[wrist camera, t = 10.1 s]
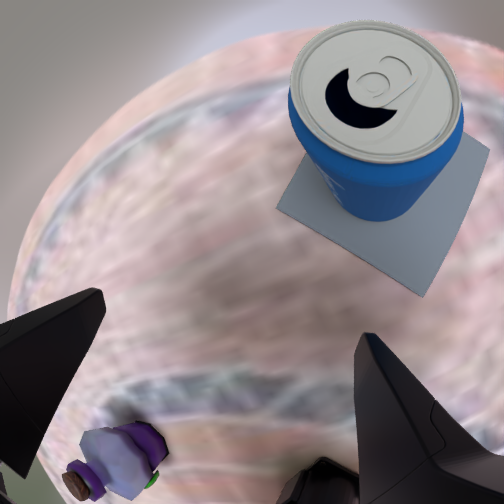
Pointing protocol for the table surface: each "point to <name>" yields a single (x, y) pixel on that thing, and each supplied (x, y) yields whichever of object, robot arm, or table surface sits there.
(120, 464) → the potion bottle
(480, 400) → the table surface
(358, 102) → the beverage can
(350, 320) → the table surface
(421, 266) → the mat
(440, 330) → the table surface
